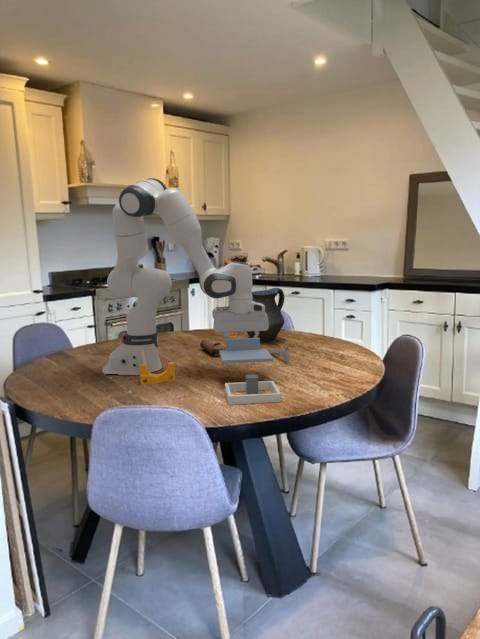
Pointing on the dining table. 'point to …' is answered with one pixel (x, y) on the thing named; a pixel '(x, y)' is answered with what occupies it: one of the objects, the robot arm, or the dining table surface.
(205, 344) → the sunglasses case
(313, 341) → the dining table surface
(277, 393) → the frame
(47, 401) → the dining table surface
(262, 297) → the pitcher
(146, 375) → the pipe clamp
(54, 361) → the dining table surface
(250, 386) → the dark grey block
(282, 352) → the caliper
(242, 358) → the lid
